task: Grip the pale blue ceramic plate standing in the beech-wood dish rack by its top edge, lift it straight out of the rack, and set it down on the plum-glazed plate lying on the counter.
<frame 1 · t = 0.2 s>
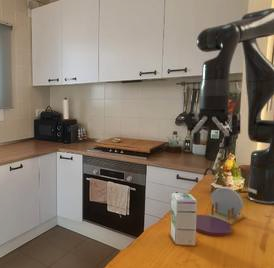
hand: (211, 146, 86), 29 cm above the worktop, tool pointing down, fingers open, 8 cm apart
syrup box: (182, 240, 85), on the worktop
plum plate: (208, 226, 93), on the worktop
plate: (226, 201, 98), point 6 cm above the worktop, touching dish rack
dish rack: (225, 217, 99), on the worktop
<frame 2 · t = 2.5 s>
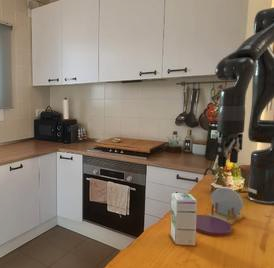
hand: (227, 164, 95), 20 cm above the worktop, tool pointing down, fingers open, 8 cm apart
nothing on the worktop moved.
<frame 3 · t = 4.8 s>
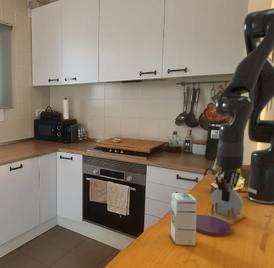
hand: (226, 200, 98), 7 cm above the worktop, tool pointing down, fingers closed on plate, 1 cm apart
plate: (226, 201, 98), point 6 cm above the worktop, touching gripper
everything else where it was.
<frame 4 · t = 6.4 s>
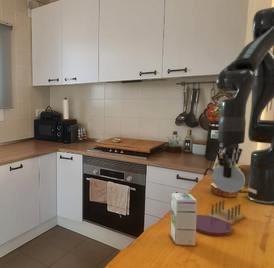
hand: (228, 176, 97), 15 cm above the worktop, tool pointing down, fingers closed on plate, 1 cm apart
plate: (228, 178, 97), point 15 cm above the worktop, touching gripper
everything else where it was.
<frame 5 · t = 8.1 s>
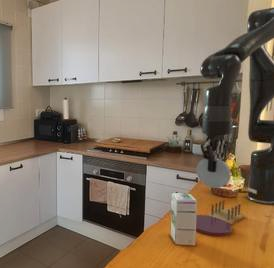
hand: (212, 171, 90), 19 cm above the worktop, tool pointing down, fingers closed on plate, 1 cm apart
plate: (212, 172, 90), point 19 cm above the worktop, touching gripper
everything else where it was.
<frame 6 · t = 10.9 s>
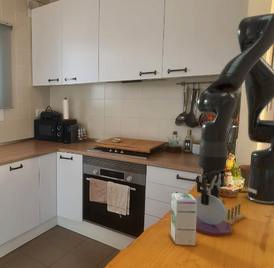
hand: (209, 202, 91), 9 cm above the worktop, tool pointing down, fingers open, 5 cm apart
plate: (209, 209, 92), point 6 cm above the worktop, touching plum plate
everything else where it was.
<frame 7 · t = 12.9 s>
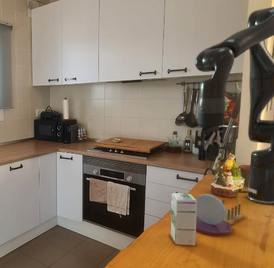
hand: (208, 158, 93), 23 cm above the worktop, tool pointing down, fingers open, 8 cm apart
nothing on the worktop moved.
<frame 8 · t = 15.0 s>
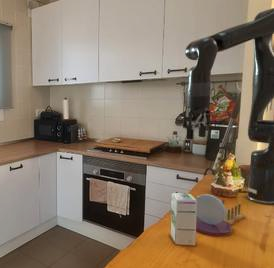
hand: (196, 138, 103), 28 cm above the worktop, tool pointing down, fingers open, 8 cm apart
nothing on the worktop moved.
at the end: plate touching plum plate; plate inside the target area (0.0 cm from its centre), point 6.2 cm above the worktop; the gripper is holding nothing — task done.
